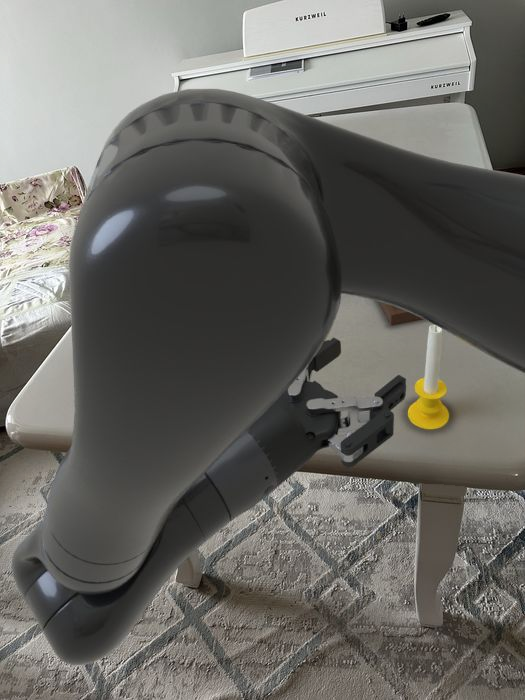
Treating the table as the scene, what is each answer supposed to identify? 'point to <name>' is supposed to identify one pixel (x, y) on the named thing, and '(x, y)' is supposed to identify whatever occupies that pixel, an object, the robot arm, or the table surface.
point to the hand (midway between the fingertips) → (368, 363)
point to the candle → (430, 388)
